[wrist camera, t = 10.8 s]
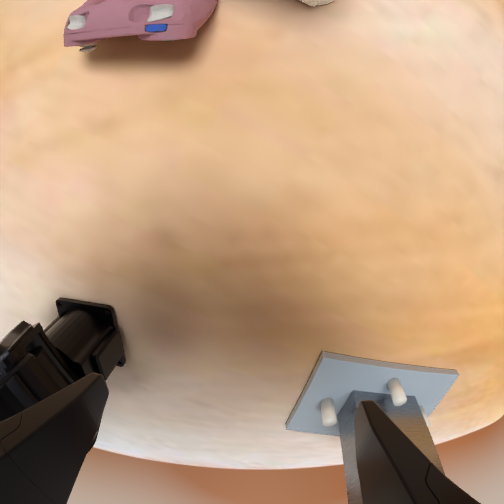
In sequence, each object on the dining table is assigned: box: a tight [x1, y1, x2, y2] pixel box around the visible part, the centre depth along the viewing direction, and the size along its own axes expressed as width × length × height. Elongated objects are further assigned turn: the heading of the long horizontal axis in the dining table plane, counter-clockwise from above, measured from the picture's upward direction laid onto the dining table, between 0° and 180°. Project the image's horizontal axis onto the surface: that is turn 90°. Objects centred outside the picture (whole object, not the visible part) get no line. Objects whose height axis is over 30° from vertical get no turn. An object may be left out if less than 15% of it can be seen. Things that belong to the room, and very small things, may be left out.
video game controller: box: [64, 0, 218, 52], centre depth 14 cm, size 10×5×7 cm, turn 79°
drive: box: [337, 390, 445, 504], centre depth 19 cm, size 7×4×11 cm, turn 77°
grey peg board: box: [286, 351, 459, 436], centre depth 24 cm, size 15×10×3 cm, turn 77°
